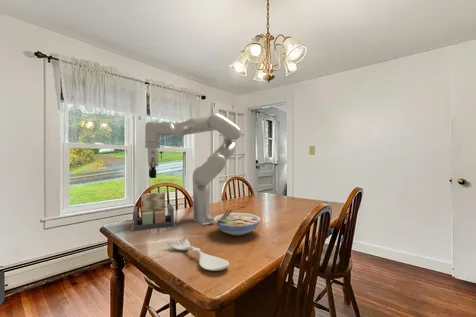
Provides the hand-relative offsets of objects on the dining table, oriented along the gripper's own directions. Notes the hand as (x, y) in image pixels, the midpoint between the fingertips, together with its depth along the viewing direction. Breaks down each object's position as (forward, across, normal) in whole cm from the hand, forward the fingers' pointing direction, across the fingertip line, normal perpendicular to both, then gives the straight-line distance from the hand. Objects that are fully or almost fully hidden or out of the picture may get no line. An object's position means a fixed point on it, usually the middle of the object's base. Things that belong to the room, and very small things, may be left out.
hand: (152, 177), depth 125 cm
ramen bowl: (+26, -29, -38) cm, 54 cm away
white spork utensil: (+27, -48, -14) cm, 57 cm away
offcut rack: (+26, -3, -1) cm, 27 cm away
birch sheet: (+25, 0, -1) cm, 25 cm away
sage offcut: (+25, -6, +2) cm, 26 cm away
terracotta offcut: (+25, -6, -4) cm, 26 cm away
